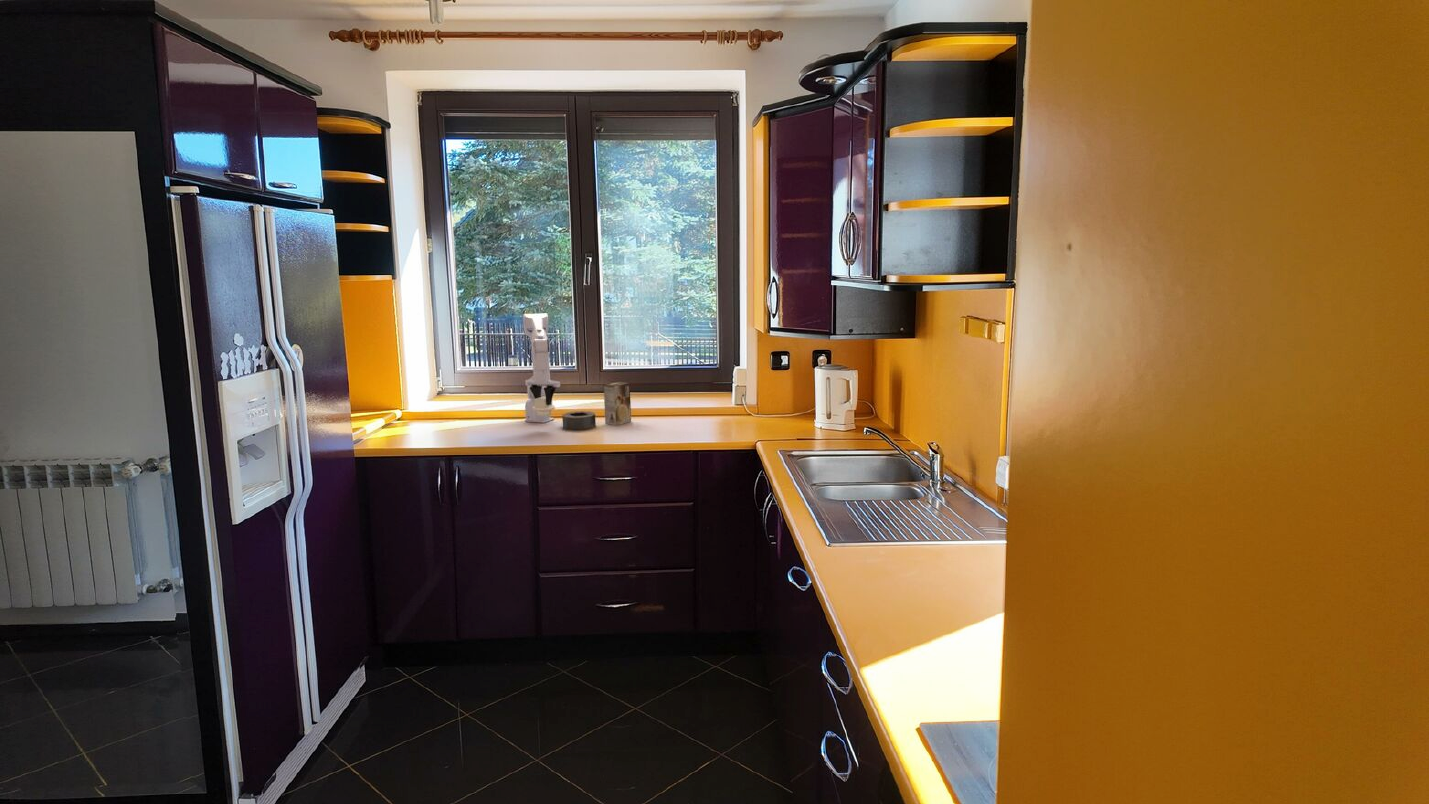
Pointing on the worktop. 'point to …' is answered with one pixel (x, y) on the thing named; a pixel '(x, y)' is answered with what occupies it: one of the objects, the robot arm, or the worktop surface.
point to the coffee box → (617, 403)
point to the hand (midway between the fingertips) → (543, 404)
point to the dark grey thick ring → (579, 420)
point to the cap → (543, 407)
